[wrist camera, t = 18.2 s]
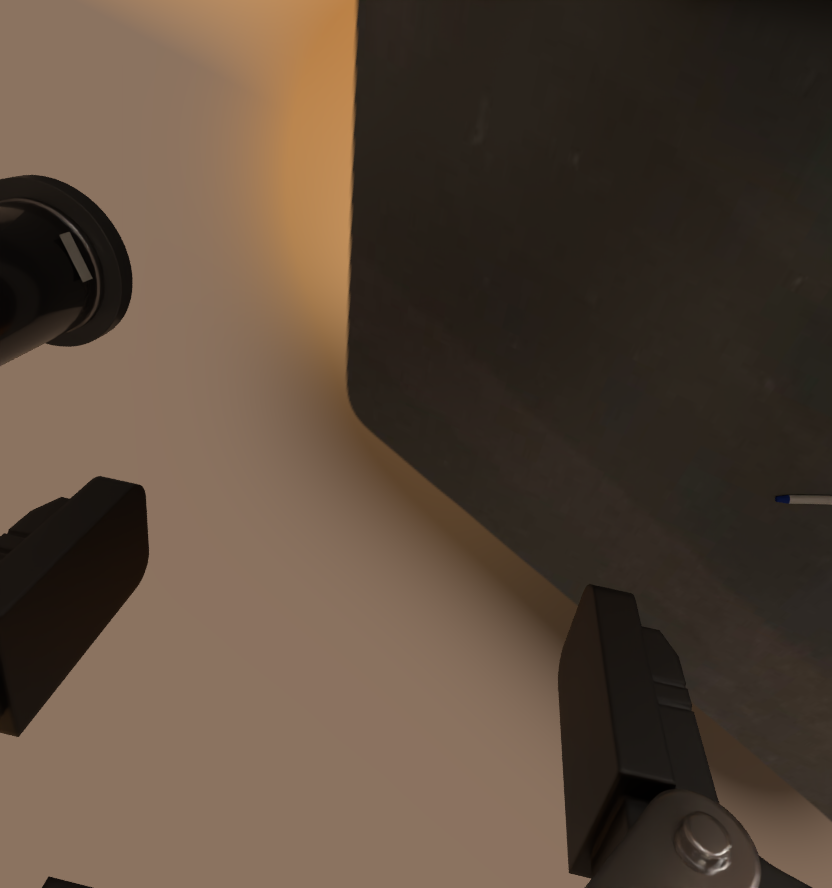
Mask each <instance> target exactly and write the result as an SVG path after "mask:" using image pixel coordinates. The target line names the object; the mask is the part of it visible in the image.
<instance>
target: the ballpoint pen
mask: <svg viewBox="0 0 832 888" xmlns="http://www.w3.org/2000/svg"><path fill="white" fill-rule="evenodd" d="M775 501H776V502H782V503H788V504H832V496H820V495H785V496H777V497H776V498H775Z"/></svg>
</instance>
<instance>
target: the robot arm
mask: <svg viewBox="0 0 832 888" xmlns="http://www.w3.org/2000/svg"><path fill="white" fill-rule="evenodd" d="M103 294H104V276H103V271H102V266H101V263H100V260H99V257H98V255H97V252H96V250H95V248H94V246H93V245H92V243H91V241H90V240H89V238H88V237H87V235H86V234H85V233H84V232H83V230H82V229H81V228H80V227H79V226H78V225H77V224H76V223H75V222H74V221H73V220H72V219H71V218H70V217H69V216H67V215H66V214H65V213H64V212H62V211H61V210H59V209H57V208H56V207H54V206H52V205H50V204H48V203H46V202H43V201H40V200H36V199H32V198H12V199H7V200H2V201H0V366H1V365H3V364H5V363H7V362H9V361H11V360H13V359H15V358H17V357H19V356H21V355H23V354H25V353H27V352H28V351H31V350H33V349H34V348H36V347H38V346H40V345H42V344H44V343H46V342H49V341H50V340H52V339H54V338H56V337H58V336H60V335H62V334H64V333H66V332H70V331H73V330H75V329H77V328H79V327H81V326H83V325H84V324H86V323H87V322H89V321H90V320H91V319H92V318H93V317H94V315H95V314H96V313H97V311H98V309H99V307H100V305H101V302H102V299H103ZM148 557H149V544H148V527H147V509H146V495H145V490H144V488H143V487H142V486H141V485H138V484H134V483H129V482H125V481H120V480H116V479H111V478H106V477H102V476H98V477H95V478H94V479H92V480H91V481H90V482H88V483H87V484H86V485H85V486H84V487H83V488H82V489H81V490H79V491H78V493H76V494H75V495H74V496H73V497H72V498H70V499H68V498H64V497H61V498H58V499H56V500H54V501H52V502H49V503H47V504H45V505H43V506H41V507H38V508H36V509H34V510H32V511H30V512H29V513H28V514H27V515H26V516H24V517H23V518H22V519H21V520H19V521H18V522H17V523H16V524H15V525H14V526H13V527H11V528H10V529H9V531H8V533H7V534H3V535H2V536H0V733H4V734H8V735H12V736H17V737H19V736H20V734H21V733H22V732H23V731H24V729H25V728H26V727H27V726H28V724H29V723H30V722H31V721H32V719H33V718H34V717H35V715H36V714H37V713H38V712H39V710H40V709H41V708H42V707H43V705H44V704H45V703H46V702H47V700H48V699H49V698H50V697H51V695H52V694H53V693H54V691H55V690H56V689H57V687H58V686H59V685H60V684H61V682H62V681H63V680H64V679H65V678H66V676H67V675H68V674H69V672H70V671H71V670H72V669H73V667H74V666H75V665H76V664H77V662H78V661H79V660H80V659H81V657H82V656H83V655H84V653H85V652H86V651H87V649H88V648H89V647H90V646H91V645H92V643H93V642H94V641H95V640H96V638H97V637H98V636H99V635H100V633H101V632H102V631H103V629H104V628H105V627H106V626H107V624H108V623H109V622H110V621H111V619H112V618H113V617H114V615H115V614H116V613H117V612H118V610H119V609H120V608H121V607H122V605H123V604H124V603H125V602H126V600H127V599H128V598H129V596H130V595H131V594H132V593H133V592H134V590H135V589H136V588H137V586H138V585H139V583H140V581H141V580H142V578H143V575H144V573H145V570H146V567H147V563H148ZM685 685H686V682H685V678H684V675H683V671H682V667H681V664H680V660H679V657H678V655H677V654H676V652H675V651H674V650H673V648H672V647H671V645H670V644H669V643H668V641H667V640H666V638H665V637H664V636H663V634H662V633H661V632H660V630H656V629H651V628H647V627H642V626H641V622H640V618H639V613H638V609H637V604H636V600H635V597H634V595H633V594H632V593H628V592H623V591H618V590H614V589H609V588H605V587H600V586H595V585H591V584H589V585H588V586H587V587H586V588H585V590H584V592H583V595H582V597H581V600H580V603H579V605H578V608H577V611H576V614H575V616H574V619H573V622H572V625H571V627H570V630H569V632H568V635H567V638H566V641H565V644H564V646H563V650H562V653H561V658H560V664H559V672H558V691H559V707H560V725H561V743H562V761H563V778H564V794H565V811H566V812H565V813H566V829H567V847H568V864H569V873H571V874H575V875H579V876H583V877H587V878H591V880H590V882H589V883H588V884H587V886H586V887H585V888H812V887H810V886H808V885H806V884H805V883H803V882H801V881H799V880H797V879H796V878H794V877H792V876H790V875H788V874H786V873H784V872H783V871H781V870H779V869H777V868H776V867H774V866H773V865H771V864H769V863H768V862H767V861H765V860H764V859H763V858H761V857H760V856H759V855H758V852H757V850H756V847H755V845H754V843H753V841H752V839H751V838H750V836H749V834H748V833H747V831H746V830H745V829H744V828H743V826H742V825H741V823H740V822H739V821H738V820H737V819H736V818H735V817H734V816H733V815H732V814H731V813H730V812H729V811H728V810H726V809H725V808H724V807H723V806H721V805H720V804H719V801H718V798H717V795H716V791H715V787H714V784H713V780H712V776H711V773H710V770H709V765H708V762H707V758H706V755H705V751H704V747H703V744H702V740H701V736H700V733H699V729H698V726H697V722H696V719H695V715H694V712H692V711H691V708H692V704H691V700H690V697H689V693H688V689H686V688H685ZM42 888H92V887H88V886H84V885H80V884H76V883H72V882H68V881H64V880H60V879H57V878H53V877H48V879H47V880H46V882H45V884H44V885H43V887H42Z"/></svg>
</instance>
